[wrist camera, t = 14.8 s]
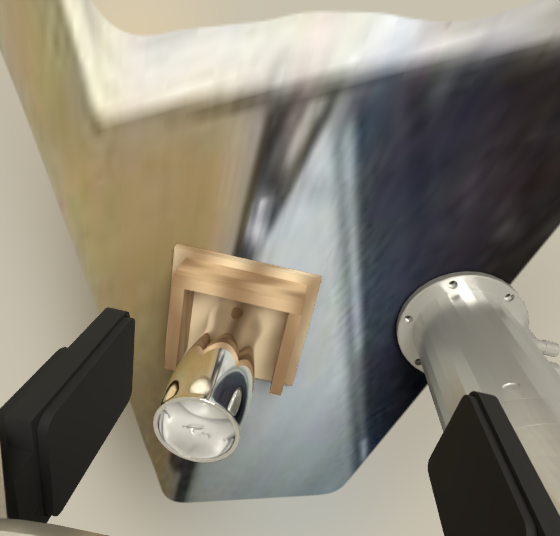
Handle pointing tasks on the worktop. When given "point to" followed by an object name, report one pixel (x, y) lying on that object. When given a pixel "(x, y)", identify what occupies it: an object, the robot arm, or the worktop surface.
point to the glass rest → (249, 289)
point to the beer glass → (212, 386)
